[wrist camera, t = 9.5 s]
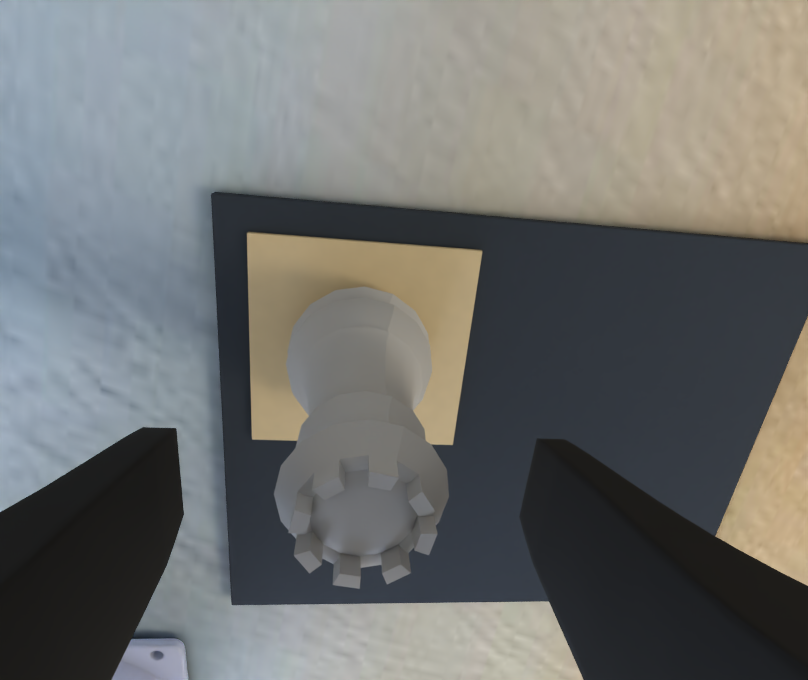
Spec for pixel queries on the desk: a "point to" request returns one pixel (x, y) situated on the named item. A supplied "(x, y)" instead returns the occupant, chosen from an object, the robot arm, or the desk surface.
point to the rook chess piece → (360, 438)
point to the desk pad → (501, 371)
